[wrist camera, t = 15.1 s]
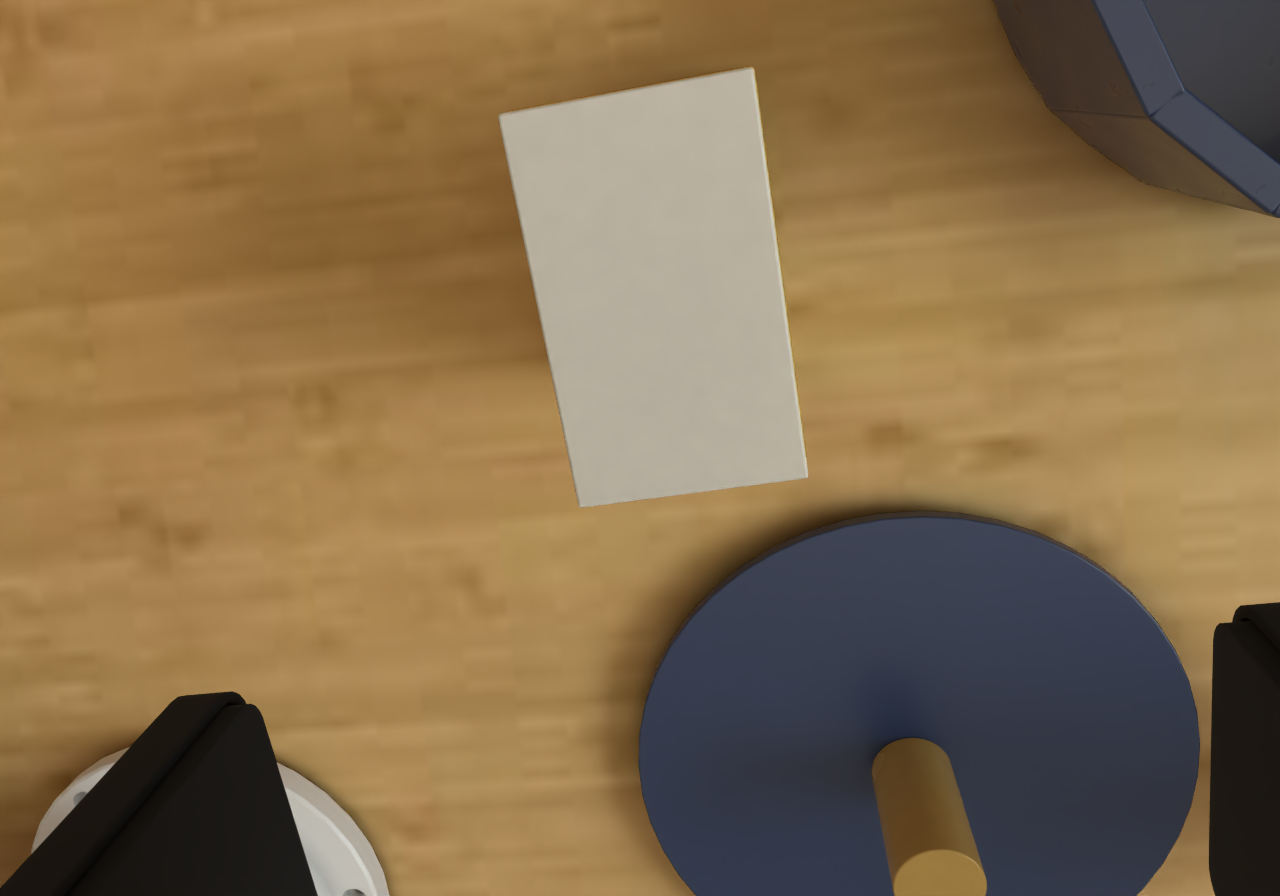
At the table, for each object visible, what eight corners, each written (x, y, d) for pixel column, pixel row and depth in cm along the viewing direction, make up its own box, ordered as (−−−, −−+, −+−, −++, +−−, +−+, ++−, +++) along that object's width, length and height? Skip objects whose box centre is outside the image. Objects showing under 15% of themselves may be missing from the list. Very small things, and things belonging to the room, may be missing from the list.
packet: (628, 377, 30) (577, 510, 21) (578, 102, 28) (494, 113, 19) (788, 353, 30) (811, 480, 20) (750, 70, 27) (754, 63, 18)
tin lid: (686, 975, 37) (675, 1138, 31) (597, 540, 32) (565, 639, 26) (1189, 942, 35) (1278, 1112, 29) (1181, 466, 30) (1287, 559, 24)
